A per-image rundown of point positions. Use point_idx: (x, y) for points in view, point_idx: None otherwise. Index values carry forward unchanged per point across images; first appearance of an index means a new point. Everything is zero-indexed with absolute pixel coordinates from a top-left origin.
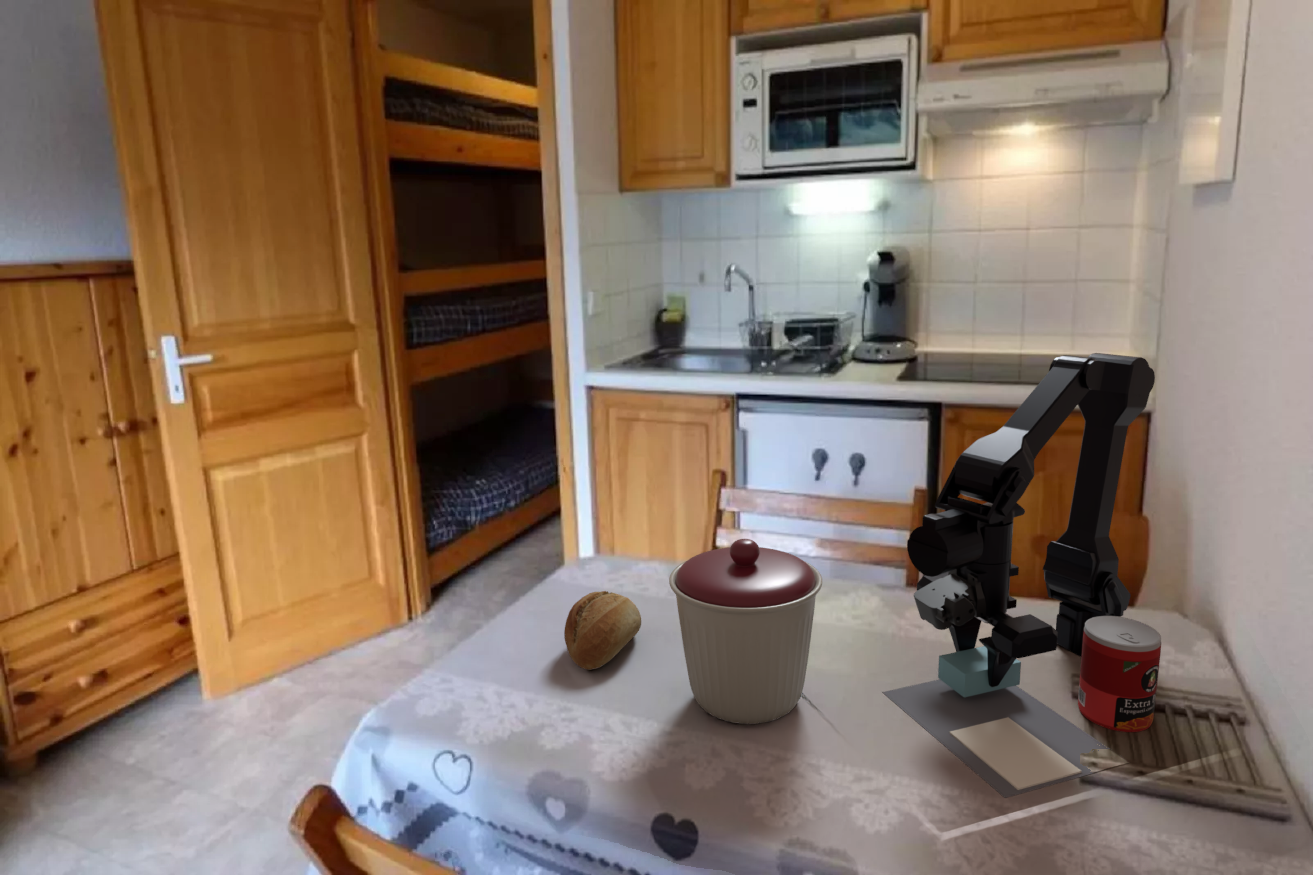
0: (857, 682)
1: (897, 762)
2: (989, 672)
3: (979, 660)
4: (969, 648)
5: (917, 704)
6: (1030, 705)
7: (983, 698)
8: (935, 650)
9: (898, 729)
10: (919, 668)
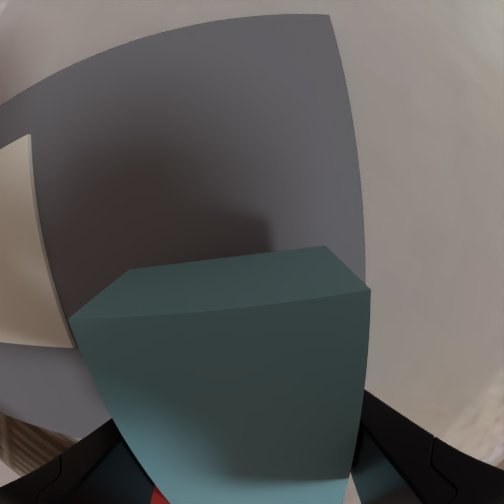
0: (417, 14)
1: (26, 3)
2: (113, 433)
3: (224, 461)
4: (355, 464)
5: (203, 84)
6: None
7: None
8: (491, 341)
9: (117, 7)
10: (456, 251)
